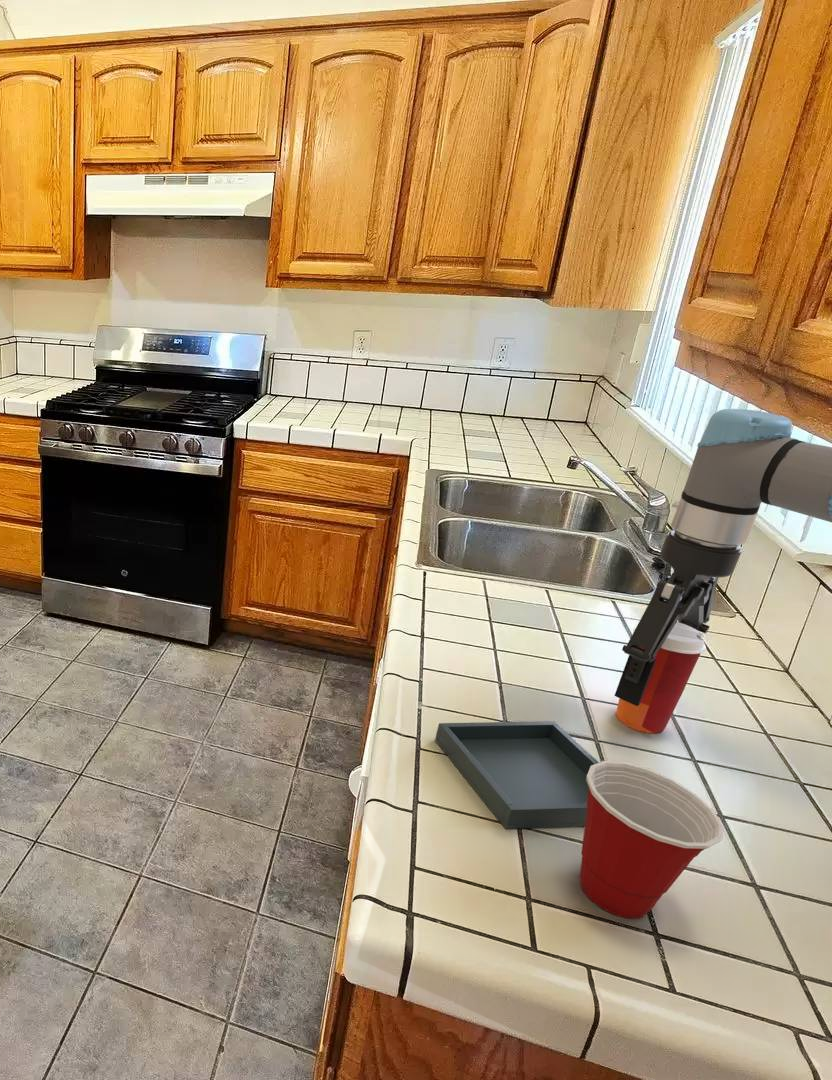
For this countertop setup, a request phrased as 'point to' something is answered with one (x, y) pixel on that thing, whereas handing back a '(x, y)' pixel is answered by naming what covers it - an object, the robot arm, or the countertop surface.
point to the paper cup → (664, 681)
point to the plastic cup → (639, 836)
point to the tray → (522, 770)
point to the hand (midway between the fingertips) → (649, 685)
